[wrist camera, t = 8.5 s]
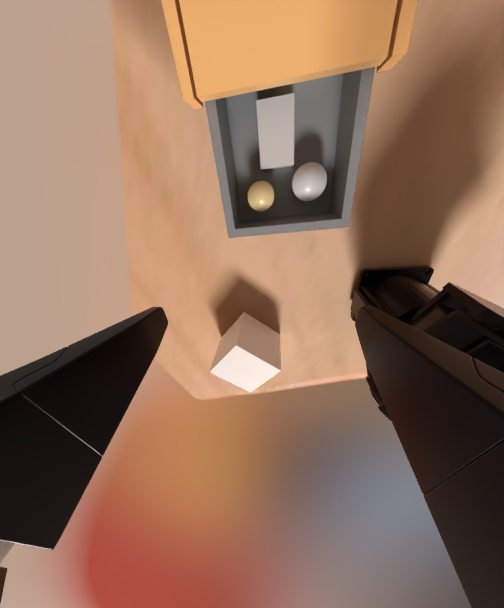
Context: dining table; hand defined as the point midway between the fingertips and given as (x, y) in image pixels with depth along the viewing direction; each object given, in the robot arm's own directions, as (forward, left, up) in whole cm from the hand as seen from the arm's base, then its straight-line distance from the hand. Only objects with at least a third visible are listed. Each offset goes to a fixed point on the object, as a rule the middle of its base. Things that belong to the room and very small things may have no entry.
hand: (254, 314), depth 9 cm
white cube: (+3, +13, -13) cm, 18 cm away
